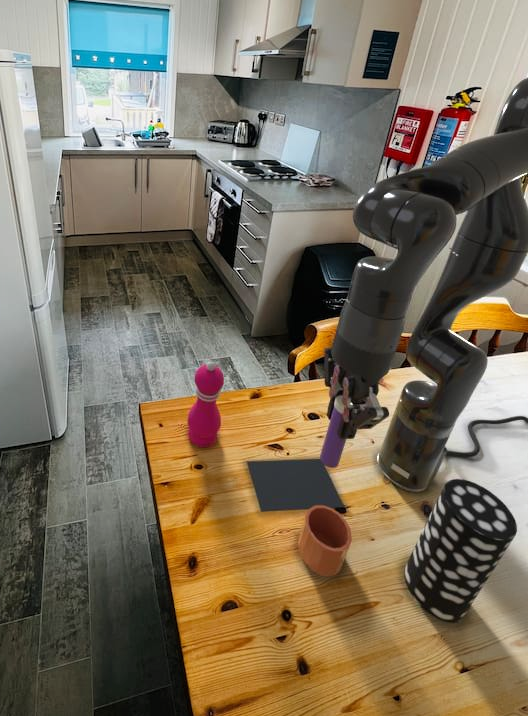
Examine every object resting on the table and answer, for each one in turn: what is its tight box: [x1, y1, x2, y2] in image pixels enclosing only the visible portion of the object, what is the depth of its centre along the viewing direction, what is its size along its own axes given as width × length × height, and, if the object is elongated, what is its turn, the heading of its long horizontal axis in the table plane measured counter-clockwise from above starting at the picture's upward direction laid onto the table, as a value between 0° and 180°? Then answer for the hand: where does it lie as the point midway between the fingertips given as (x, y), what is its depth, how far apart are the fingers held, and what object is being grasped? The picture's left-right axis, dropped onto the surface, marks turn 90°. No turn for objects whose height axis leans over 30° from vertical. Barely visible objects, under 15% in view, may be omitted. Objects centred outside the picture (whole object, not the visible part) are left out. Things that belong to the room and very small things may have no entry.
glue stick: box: [319, 395, 357, 469], centre depth 60 cm, size 3×3×12 cm
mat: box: [246, 458, 345, 512], centre depth 77 cm, size 16×10×1 cm, turn 95°
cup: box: [297, 505, 353, 577], centre depth 65 cm, size 7×7×7 cm
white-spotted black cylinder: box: [403, 478, 518, 624], centre depth 58 cm, size 8×8×20 cm
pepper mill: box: [186, 361, 225, 448], centre depth 83 cm, size 7×7×20 cm
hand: (339, 426), depth 60 cm, fingers closed on glue stick, 3 cm apart
